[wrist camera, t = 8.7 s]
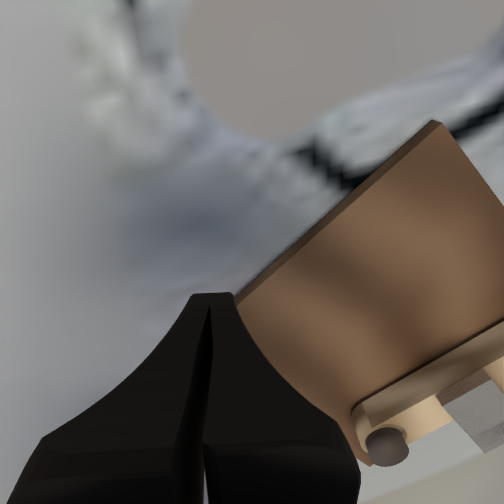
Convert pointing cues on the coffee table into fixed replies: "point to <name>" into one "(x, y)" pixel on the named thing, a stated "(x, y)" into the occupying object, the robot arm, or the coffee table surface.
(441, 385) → the link
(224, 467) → the robot arm
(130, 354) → the coffee table surface
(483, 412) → the keeper
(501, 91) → the coffee table surface
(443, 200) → the board
